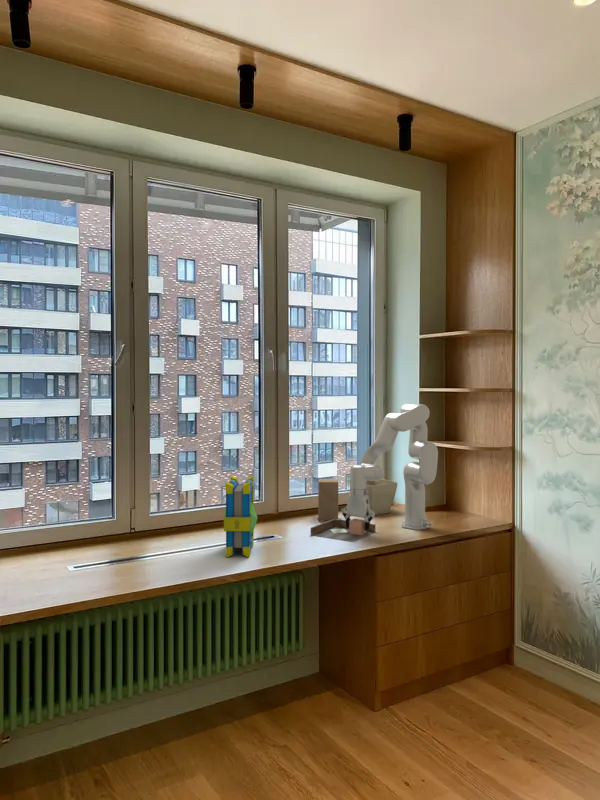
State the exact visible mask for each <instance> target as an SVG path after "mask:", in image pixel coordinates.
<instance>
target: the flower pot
mask: <svg viewBox="0 0 600 800" xmlns="http://www.w3.org/2000/svg"><path fill="white" fill-rule="evenodd" d="M366 489H367V491H369V493H367V494H366V495H368V498H369V506H370V510H372V511H373V512H375V515H383V514H388V513H390V510H391V509H392V506H393V503H394V499H395V496H396V494H397V493H396V492H397V489H398V482H396V481H393V480H388V479H385V478H382V479H381V480H379V481H368V480H367V481H366ZM369 516H371V514H370V515H369Z"/></svg>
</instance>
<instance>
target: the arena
mask: <svg viewBox="0 0 600 800" xmlns="http://www.w3.org/2000/svg"><path fill="white" fill-rule="evenodd" d="M376 531H377V530H376V523H375V524H374V523H370V528H369V530H367V533H365V534H362V535H356V534H350V533H349V528H346V519H340V518H338V519H332V520H329V521H323V522H322V523H319V524H316V525H314V526H311V527H310V536H312V537H318V538H324V539H329V540H334V541H336V540H337V541H342V542H349V543H356V542H358V541H359V540H362V539H364V538H366V537H368V536H371V535H372V534H375V533H376Z"/></svg>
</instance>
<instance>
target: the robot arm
mask: <svg viewBox="0 0 600 800" xmlns="http://www.w3.org/2000/svg"><path fill="white" fill-rule="evenodd" d="M399 411H400V412H399V413H398V412H390V413H387V414H386V415H385V417H384V419H383V421H382V424H381V426H380V428H379V430H378V433H377V435H376V439H375V440H374V441H373V442H372V444H371V445H370V446H369V448H367V449H366V451H365V452H364V454H363V455H362V457H361V460H360V463H359V464H353V465H351V466H350V470H349V473H350V474H349V475H350V476H349V477H350V478H349V494H348V497H347V501H346V503H347V504H346V506H344V507H342V508H340V511H341V513H342V516H343V517H344V520H346V528H349V520H352V519H351V517H355V518H361V519H365V521H366V522H365V531H367V530H369V528H370V524H371V521H372V520H373V519H374V517H375V512H373V511H372V510H370V506H369V498H368V495H366V494H367V493H369V491H367V489H366V481H367V480H368V481H379V480H381V479H384V477H385V470H384V468H383V467H382V466H380V465H378V464H375V463H376V461H377V460H378V458H379V457H380V456H381V455H382V454H384V453H385V452H388V451H390V450H391V449H392V448H393V446H394V444H395V441H396V440H397V436H398V434H399V432H402V433H403V432H407V431H409V439H408V448H407V449H408V455H409V457H410V458H412V459H415V460H418V461H409V462H407V463H406V464H405V466H404V467H403V479H404V493H405V494H404V508H405V509H404V522H402V523H401V527H402V528H404V529H407V530H415V531H416V530H419V531H420V530H426V529H428V528H429V527H432V526H433V525H434V522H433V521H432V520H428V518H427V517H426V488H425V485H430V484H432V483H433V482H434V481H435V479H436V476H437V470H438V462H439V461H438V460H439V450H438V447H437V445H436V444H435V443H434V442H432V441H429V440H428V432H429V431H428V424H427V423H426V421H427V420H428V419H429V418H430V413H431V412H430V409H429V407H428V406H427V405H426V404H423V403H422V404H421V403H404V404H403V405H401V407H400V410H399ZM370 514H371V515H370Z"/></svg>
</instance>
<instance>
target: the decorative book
mask: <svg viewBox="0 0 600 800" xmlns="http://www.w3.org/2000/svg"><path fill="white" fill-rule="evenodd" d="M254 476H255V475H251V476H250V477H248V478H247V479H246V481H245V482H244V483H239V478H238V477H236V476H234V475H231V476H230V480H229V481H226V482H225V511H224V514H223V517H222V520H223V532H225V558H228V557H230V556H232V555H233V554H234V551H235V549H236V548H241V550H242V555H243V556H245V557H247V558H250V557H251V551H252V549H253V548H254V539H255V538H254V537H255V535H254V534H255V533H254V530H255V527H256V523H257V521H258V519H259V518H258V516H257V512H256V509H255V507H254V502H255V501H254V499H255V497H254V495H255V494H254V492H255V491H254Z"/></svg>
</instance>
